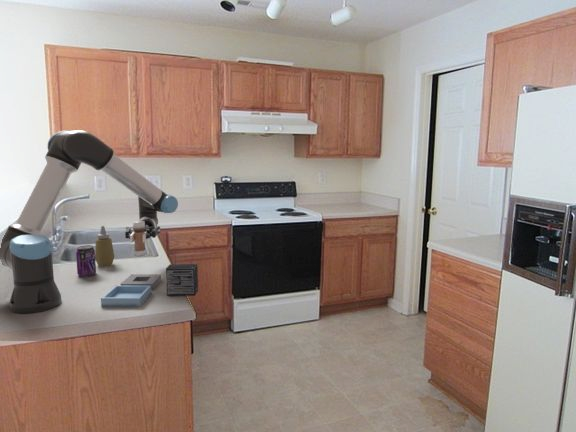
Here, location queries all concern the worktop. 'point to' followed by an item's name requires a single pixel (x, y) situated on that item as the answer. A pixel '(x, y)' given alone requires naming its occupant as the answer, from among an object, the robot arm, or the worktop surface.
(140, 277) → the holder
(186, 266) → the small box
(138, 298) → the parts tray
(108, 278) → the worktop surface
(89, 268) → the beverage can
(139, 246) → the brown and white cylinder
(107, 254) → the squeeze bottle
